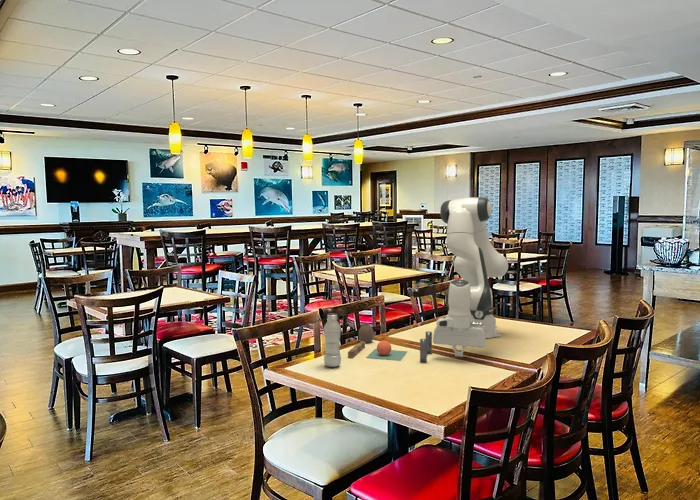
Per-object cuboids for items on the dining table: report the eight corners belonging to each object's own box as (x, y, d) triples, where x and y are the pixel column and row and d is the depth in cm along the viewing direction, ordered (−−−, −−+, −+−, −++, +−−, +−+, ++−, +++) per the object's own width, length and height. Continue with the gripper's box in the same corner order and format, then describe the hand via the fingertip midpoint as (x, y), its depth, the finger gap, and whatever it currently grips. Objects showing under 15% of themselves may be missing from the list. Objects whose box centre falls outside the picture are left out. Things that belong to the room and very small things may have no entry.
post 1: (420, 361, 204) (420, 338, 204) (427, 361, 203) (427, 338, 203) (419, 362, 202) (419, 340, 201) (426, 363, 201) (426, 340, 200)
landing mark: (374, 349, 222) (374, 348, 222) (407, 351, 218) (407, 351, 218) (366, 357, 209) (366, 357, 209) (400, 360, 205) (400, 360, 205)
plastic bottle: (332, 363, 202) (332, 312, 201) (344, 366, 197) (344, 314, 196) (320, 366, 198) (319, 314, 196) (332, 370, 193) (331, 316, 192)
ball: (384, 336, 216) (395, 346, 215) (375, 347, 217) (386, 357, 215) (381, 338, 210) (393, 348, 209) (372, 349, 211) (383, 359, 209)
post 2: (425, 352, 217) (426, 331, 216) (432, 353, 216) (432, 331, 215) (424, 354, 214) (425, 332, 214) (431, 354, 213) (431, 333, 213)
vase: (372, 344, 231) (372, 324, 230) (357, 343, 232) (357, 324, 232) (374, 340, 238) (374, 321, 237) (360, 340, 239) (359, 321, 238)
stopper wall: (360, 346, 226) (360, 341, 226) (365, 347, 226) (364, 341, 226) (348, 357, 209) (347, 351, 209) (352, 358, 209) (352, 352, 209)
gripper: (487, 321, 204) (486, 356, 205) (434, 318, 210) (434, 352, 211) (486, 324, 198) (485, 360, 199) (432, 321, 204) (432, 356, 205)
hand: (459, 356), depth 205 cm, fingers closed
